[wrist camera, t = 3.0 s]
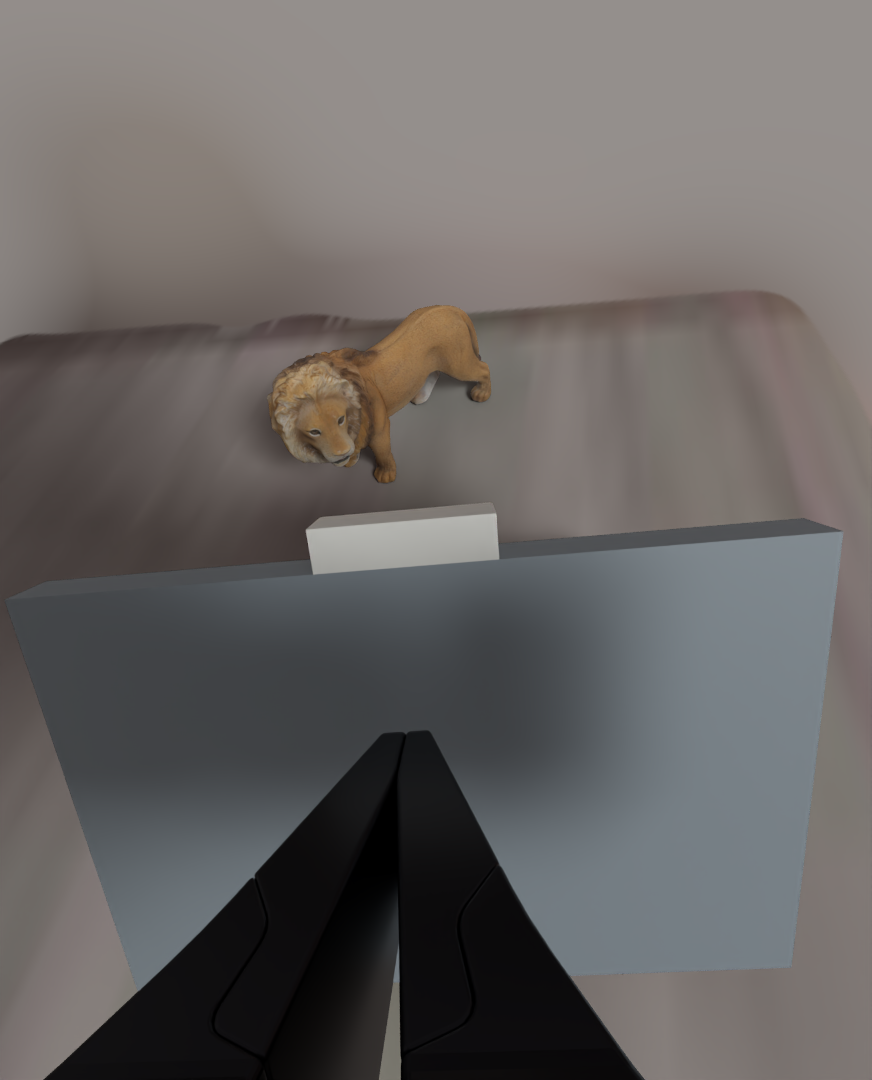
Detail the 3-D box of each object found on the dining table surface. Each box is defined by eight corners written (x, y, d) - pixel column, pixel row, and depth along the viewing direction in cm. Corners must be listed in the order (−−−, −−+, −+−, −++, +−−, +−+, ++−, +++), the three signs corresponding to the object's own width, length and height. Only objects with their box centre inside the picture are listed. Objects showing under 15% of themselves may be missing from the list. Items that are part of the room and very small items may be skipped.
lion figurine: (363, 546, 27) (312, 431, 19) (292, 500, 29) (219, 378, 21) (511, 376, 32) (519, 231, 24) (443, 347, 34) (430, 204, 26)
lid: (763, 922, 15) (791, 967, 13) (161, 947, 16) (138, 992, 14) (808, 474, 11) (849, 483, 10) (33, 542, 12) (-10, 557, 11)
